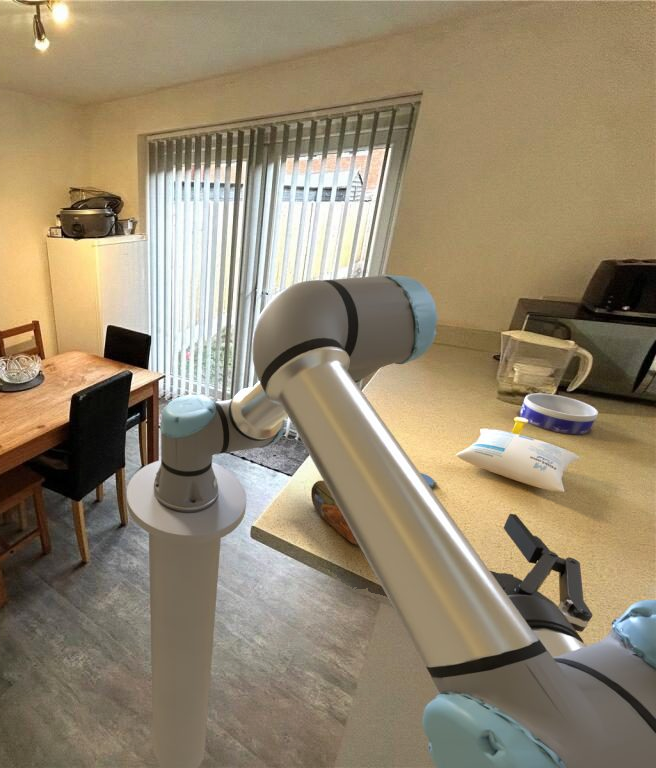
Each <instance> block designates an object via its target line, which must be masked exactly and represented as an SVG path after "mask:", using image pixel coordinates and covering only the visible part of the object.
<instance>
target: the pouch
mask: <svg viewBox="0 0 656 768" xmlns="http://www.w3.org/2000/svg"><path fill="white" fill-rule="evenodd" d="M479 430H480V431H479V432H480V435H479V437H478V439H477V441H476V442H474V443H472V444H471V445H470V446H469V447H467V448H465V449H464V450H461V451H460V452H458V453H456V454H455V456H456V457H457V458H459V460H462V461H464V462H465V463H467V464H470V465H473V466H474V467H477V468H480V469H482V470H485V471H488V472H490V473H493V474H495V475H499V476H502V477H505V478H508V479H511V480H514V481H516V482H519V483H523V484H526V485H528V486H532V487H535V488H538V489H543V490H546V491H550V492H559V493H561V492H562V493H565V492H566V491H565V487H564V484H563V479H562V478H563V475H564V471H565V470H566V469H567V468H568V466H569V465H571V464H573V463H574V462H576V461H579V460H581V457H580V456H578V454H576V453H574V452H572V451H570V450H568V449H565V448H563V447H560V446H558V445H555V444H552V443H549V442H546V441H543V440H539V439H536V438H533V437H528V436H526V435H523V434H520V435H518V434H514V433H512V432H510V431H505V430H502V429H501V430H499V429H496V428H495V429H494V428H481V429H479Z"/></svg>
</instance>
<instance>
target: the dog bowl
mask: <svg viewBox="0 0 656 768" xmlns="http://www.w3.org/2000/svg"><path fill="white" fill-rule="evenodd" d="M598 415H599V411H598V410H597V408H596V407H594V406H592V405H590V404H589V403H587V402H584V401H580V400H578V399H575V398H571V397H568V396H563V395H558V394H551V393H541V392H539V393H538V392H537V393H530V394H526V395H525V397H524V399H523V402H522V405H521V408H520V411H519V417H522V418H525V419H527V420H528V423H529V424H531V425H533V426H536V427H537V428H541V429H543V430H548V431H551V432H555V433H560V434H568V435H585V434H587V433H588V432H589V431H590V430H591V428H592V427H593V424H594V423H595V421H596V419H597V418H598Z"/></svg>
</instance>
